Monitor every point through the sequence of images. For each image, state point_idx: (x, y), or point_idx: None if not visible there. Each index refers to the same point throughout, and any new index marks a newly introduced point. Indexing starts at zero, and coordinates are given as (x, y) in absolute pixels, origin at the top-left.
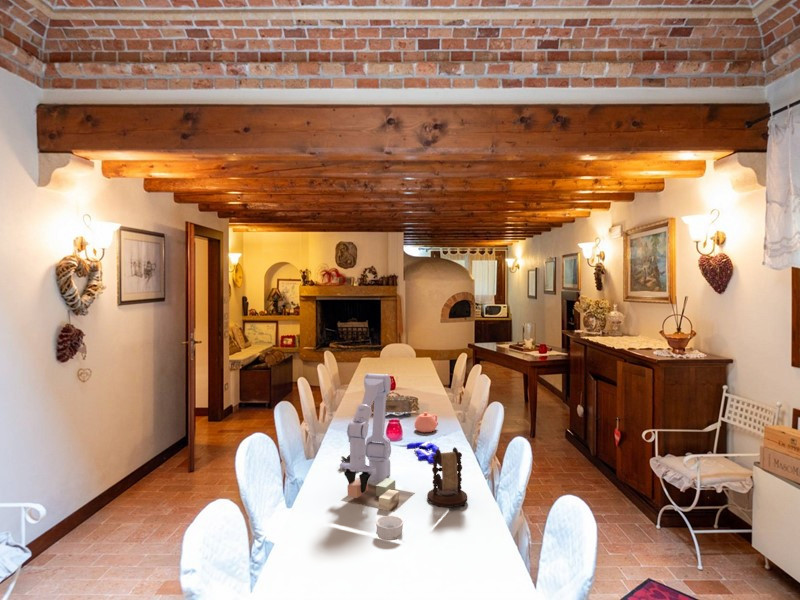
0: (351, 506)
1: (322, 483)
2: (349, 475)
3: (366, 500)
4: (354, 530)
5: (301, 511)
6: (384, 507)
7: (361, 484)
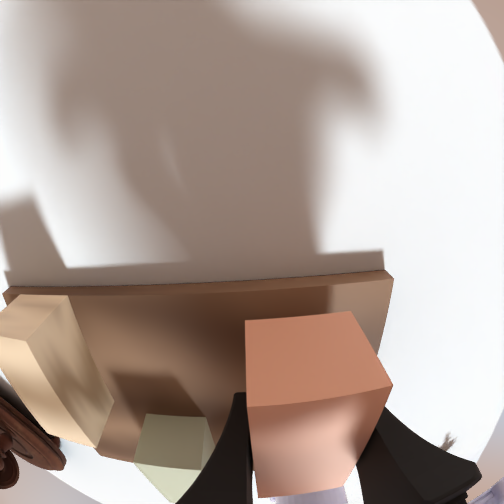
0: (285, 263)
1: (495, 368)
2: (414, 492)
3: (216, 361)
4: (66, 4)
5: (496, 73)
6: (30, 302)
7: (236, 454)
